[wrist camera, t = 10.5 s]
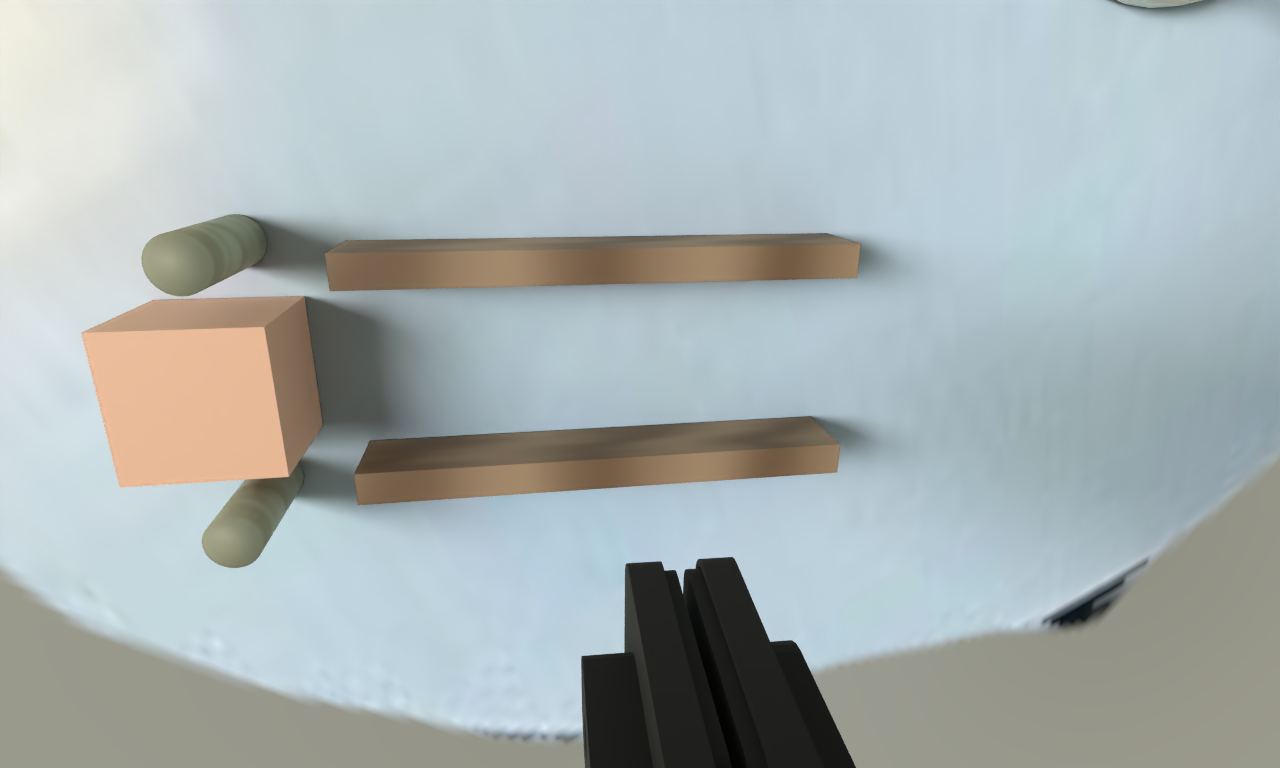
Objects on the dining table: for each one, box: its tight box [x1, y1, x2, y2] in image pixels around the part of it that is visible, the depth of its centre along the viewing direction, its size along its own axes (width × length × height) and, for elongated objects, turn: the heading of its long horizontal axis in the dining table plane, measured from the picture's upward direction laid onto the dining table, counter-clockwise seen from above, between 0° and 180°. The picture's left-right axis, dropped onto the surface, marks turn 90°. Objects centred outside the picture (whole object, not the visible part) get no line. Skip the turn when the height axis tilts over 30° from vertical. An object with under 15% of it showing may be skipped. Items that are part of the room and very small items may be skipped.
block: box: [82, 296, 323, 487], centre depth 25 cm, size 5×5×4 cm
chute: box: [142, 214, 861, 568], centre depth 26 cm, size 22×11×5 cm, turn 90°
